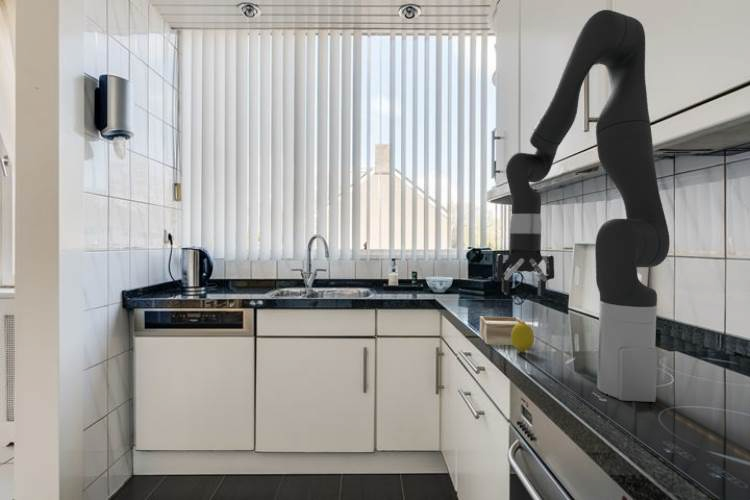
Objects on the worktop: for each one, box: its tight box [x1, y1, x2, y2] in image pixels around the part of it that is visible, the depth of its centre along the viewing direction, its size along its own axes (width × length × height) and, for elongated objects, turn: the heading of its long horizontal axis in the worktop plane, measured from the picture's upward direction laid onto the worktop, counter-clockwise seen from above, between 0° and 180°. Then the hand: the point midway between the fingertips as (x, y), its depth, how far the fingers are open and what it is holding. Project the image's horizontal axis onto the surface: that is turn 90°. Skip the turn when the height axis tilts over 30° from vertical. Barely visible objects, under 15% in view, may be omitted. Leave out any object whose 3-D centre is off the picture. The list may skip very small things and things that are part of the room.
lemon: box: [511, 321, 535, 353], centre depth 104 cm, size 6×6×8 cm
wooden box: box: [479, 315, 527, 346], centre depth 117 cm, size 11×11×6 cm
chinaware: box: [425, 276, 454, 293], centre depth 225 cm, size 15×15×8 cm
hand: (523, 295), depth 104 cm, fingers open, 8 cm apart
